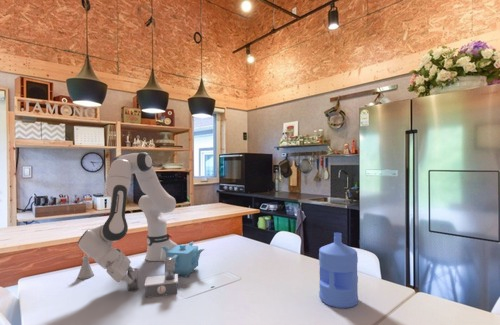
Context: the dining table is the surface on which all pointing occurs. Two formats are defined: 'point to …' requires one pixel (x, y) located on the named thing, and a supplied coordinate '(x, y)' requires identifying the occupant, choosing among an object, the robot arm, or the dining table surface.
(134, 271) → the ball
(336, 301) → the water jug
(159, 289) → the scale
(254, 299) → the dining table surface
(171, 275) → the cylinder
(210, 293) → the dining table surface
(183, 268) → the teakettle
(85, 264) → the flask
